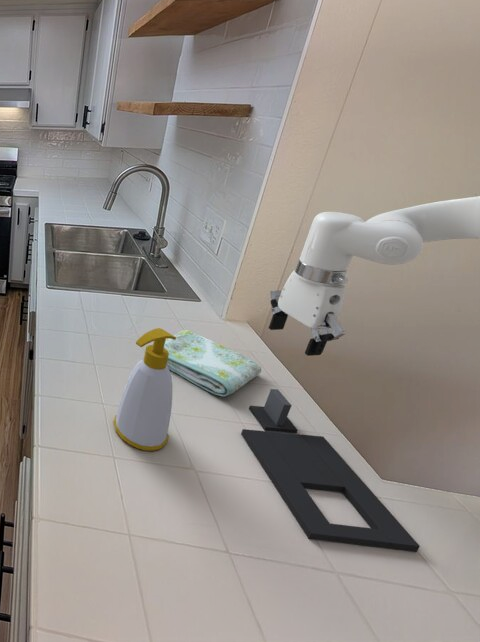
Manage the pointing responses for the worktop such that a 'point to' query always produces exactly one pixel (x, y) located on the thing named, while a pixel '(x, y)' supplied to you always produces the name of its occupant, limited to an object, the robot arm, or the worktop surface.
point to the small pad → (274, 413)
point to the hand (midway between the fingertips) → (293, 341)
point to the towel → (209, 363)
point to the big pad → (324, 474)
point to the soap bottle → (147, 396)
